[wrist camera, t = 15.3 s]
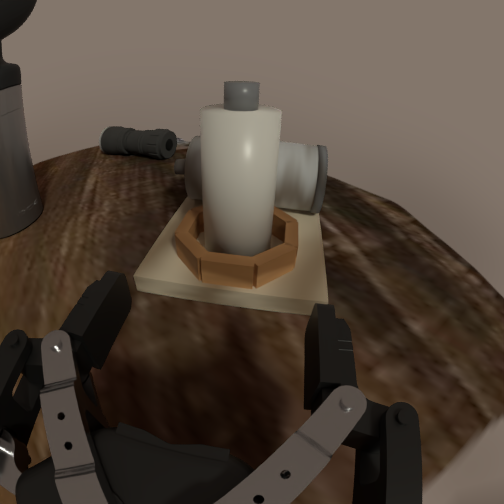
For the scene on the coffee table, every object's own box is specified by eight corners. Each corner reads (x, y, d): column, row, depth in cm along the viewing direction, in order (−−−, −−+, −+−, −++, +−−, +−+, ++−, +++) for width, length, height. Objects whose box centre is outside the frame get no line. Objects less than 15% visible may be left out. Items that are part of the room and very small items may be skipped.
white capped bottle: (197, 264, 22) (188, 85, 14) (213, 227, 26) (211, 79, 18) (267, 272, 21) (282, 87, 14) (272, 233, 26) (284, 82, 18)
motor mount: (126, 288, 21) (102, 190, 16) (190, 193, 35) (187, 127, 30) (323, 316, 20) (353, 213, 15) (314, 206, 34) (324, 138, 29)
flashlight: (180, 154, 48) (179, 125, 45) (162, 164, 44) (160, 132, 41) (119, 148, 52) (117, 123, 49) (100, 157, 48) (97, 130, 45)
